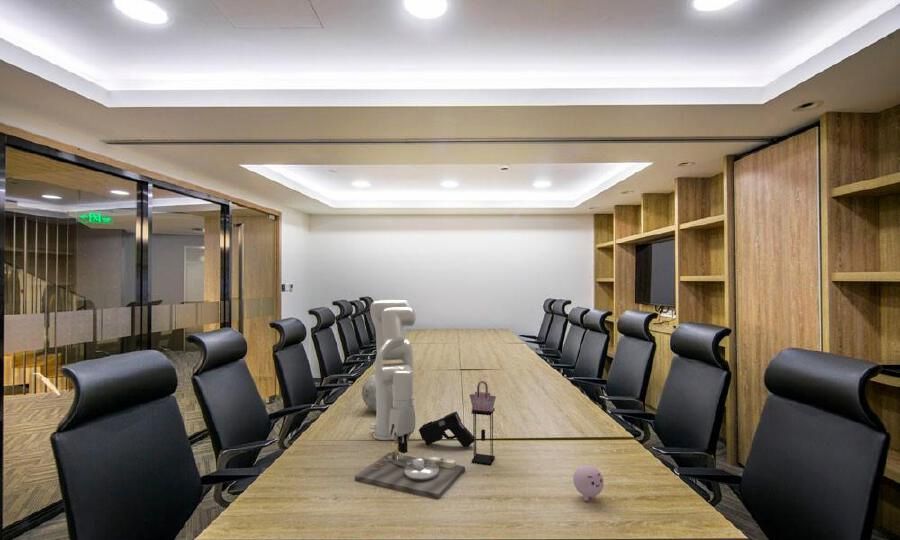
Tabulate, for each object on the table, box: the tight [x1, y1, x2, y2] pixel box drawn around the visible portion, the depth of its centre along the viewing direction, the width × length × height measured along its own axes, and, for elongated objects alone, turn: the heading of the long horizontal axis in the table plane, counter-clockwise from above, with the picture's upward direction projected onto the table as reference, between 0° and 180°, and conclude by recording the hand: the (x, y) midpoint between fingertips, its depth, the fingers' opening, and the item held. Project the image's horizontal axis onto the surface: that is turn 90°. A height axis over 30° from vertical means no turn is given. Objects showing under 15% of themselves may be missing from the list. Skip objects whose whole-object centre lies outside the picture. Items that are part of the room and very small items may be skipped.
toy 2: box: [572, 464, 605, 502], centre depth 135 cm, size 9×9×10 cm
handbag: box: [469, 380, 497, 466], centre depth 164 cm, size 10×8×30 cm
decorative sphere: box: [361, 373, 393, 412], centre depth 228 cm, size 20×20×20 cm
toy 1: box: [418, 411, 474, 449], centre depth 179 cm, size 5×20×15 cm, turn 78°
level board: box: [354, 452, 466, 500], centre depth 152 cm, size 32×22×4 cm
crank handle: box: [388, 441, 439, 481], centre depth 153 cm, size 23×12×7 cm, turn 50°
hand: (402, 451), depth 161 cm, fingers closed
